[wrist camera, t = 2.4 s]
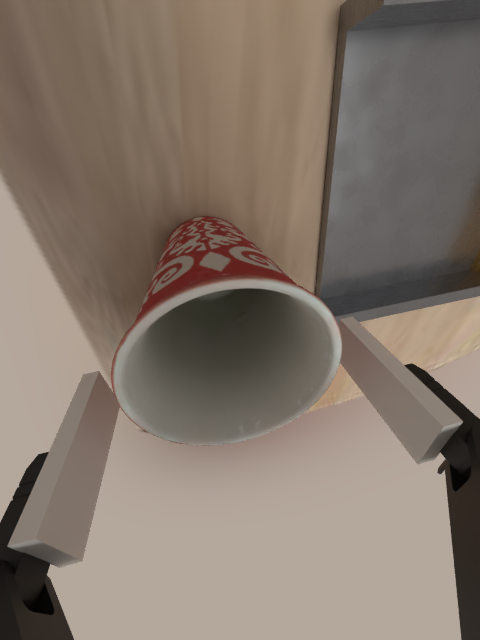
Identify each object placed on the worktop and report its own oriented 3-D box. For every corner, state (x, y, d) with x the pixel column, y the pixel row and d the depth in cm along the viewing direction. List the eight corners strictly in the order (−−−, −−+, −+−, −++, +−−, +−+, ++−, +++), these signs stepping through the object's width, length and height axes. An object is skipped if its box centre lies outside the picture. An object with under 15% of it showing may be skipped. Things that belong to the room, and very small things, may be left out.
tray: (340, 6, 14) (389, -39, 10) (607, -16, 15) (720, -60, 12) (314, 304, 25) (333, 327, 22) (466, 273, 27) (504, 290, 24)
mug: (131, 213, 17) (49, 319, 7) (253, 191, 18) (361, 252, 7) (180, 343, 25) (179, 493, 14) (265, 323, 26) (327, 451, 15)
